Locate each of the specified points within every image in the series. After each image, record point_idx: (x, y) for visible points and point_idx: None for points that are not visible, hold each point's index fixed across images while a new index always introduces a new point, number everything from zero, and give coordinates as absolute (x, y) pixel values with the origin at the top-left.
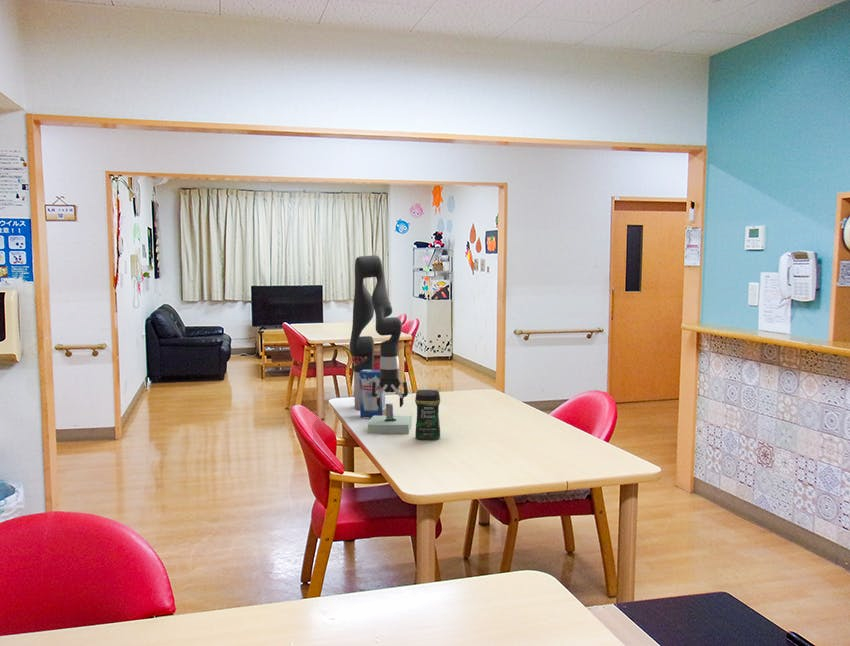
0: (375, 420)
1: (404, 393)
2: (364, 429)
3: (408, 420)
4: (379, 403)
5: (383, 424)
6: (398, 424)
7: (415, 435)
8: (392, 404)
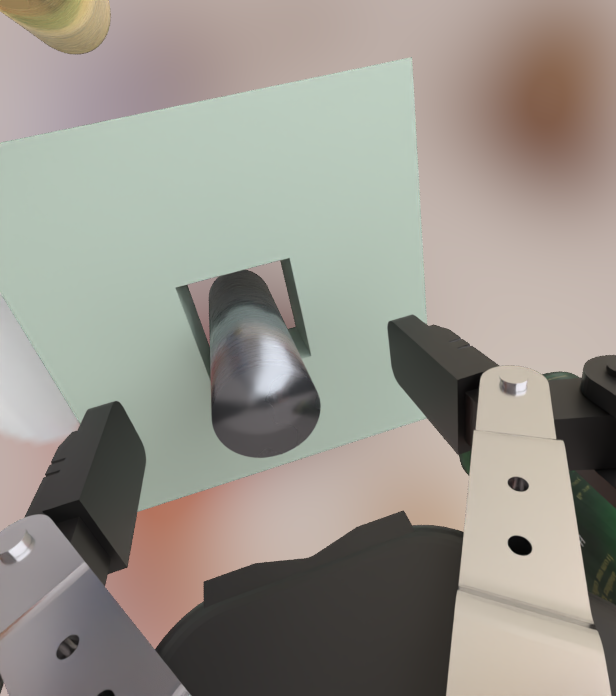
0: (113, 377)
1: (606, 494)
2: (40, 378)
3: (413, 293)
4: (131, 497)
5: (251, 464)
6: (361, 428)
7: (463, 466)
8: (312, 414)
